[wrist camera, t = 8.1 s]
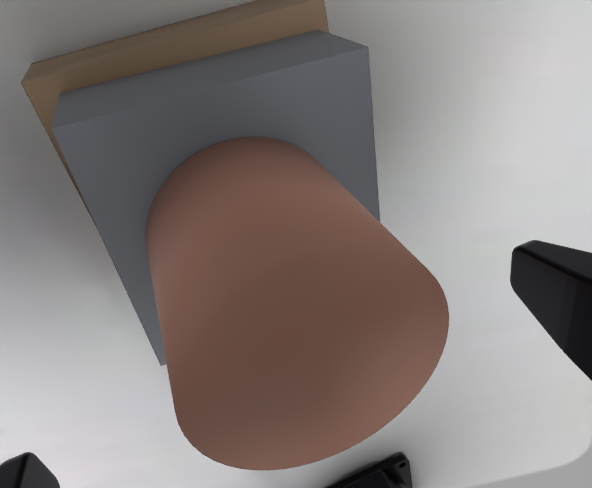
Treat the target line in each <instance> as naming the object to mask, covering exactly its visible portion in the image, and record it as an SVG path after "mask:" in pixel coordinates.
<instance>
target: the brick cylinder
mask: <svg viewBox="0 0 592 488" xmlns="http://www.w3.org/2000/svg"><path fill="white" fill-rule="evenodd" d="M145 238H146V249H147V255H148V260H149V266H150V272H151V277H152V283H153V289H154V295H155V300H156V306H157V312H158V317H159V323H160V329H161V334H162V340H163V346H164V351H165V357H166V363H167V369H168V374H169V380H170V386H171V391H172V397H173V403H174V408H175V413H176V417H177V420H178V424H179V426H180V428H181V430H182V432H183V434H184V436H185V437H186V438H187V439H188V441H189V442H190V443H191V444H192V446H194V447H195V448H196V449H197V450H198V451H200V452H201V453H202V454H203V455H205V456H207V457H209V458H210V459H212V460H214V461H216V462H219V463H222V464H224V465H227V466H231V467H236V468H240V469H249V470H277V469H286V468H292V467H297V466H302V465H306V464H309V463H313V462H316V461H319V460H322V459H325V458H328V457H330V456H333V455H335V454H337V453H340V452H342V451H344V450H346V449H348V448H350V447H352V446H354V445H356V444H358V443H360V442H361V441H363V440H364V439H366V438H368V437H369V436H371V435H372V434H374V433H375V432H377V431H378V430H380V429H381V428H382V427H384V426H385V425H386V424H388V423H389V422H390V421H391V420H392V419H394V418H395V417H396V416H397V415H398V414H399V413H400V412H401V411H402V410H403V409H404V408H405V407H406V406H407V405H408V404H409V403H410V402H411V401H412V400H413V399H414V398H415V397H416V395H417V394H418V393H419V392H420V391H421V389H422V388H423V387H424V385H425V384H426V382H427V381H428V380H429V378H430V376H431V375H432V373H433V371H434V369H435V368H436V366H437V364H438V362H439V359H440V357H441V355H442V352H443V349H444V346H445V343H446V339H447V333H448V327H449V312H448V305H447V301H446V298H445V295H444V292H443V290H442V288H441V286H440V284H439V283H438V281H437V279H436V278H435V277H434V276H433V275H432V274H431V273H430V271H429V270H428V269H427V268H426V267H425V266H424V265H423V264H422V263H421V262H420V261H419V260H418V259H417V258H416V257H415V256H413V255H412V254H411V253H410V252H409V251H408V250H407V249H406V248H405V247H404V246H403V245H402V244H401V243H400V242H399V241H398V240H397V239H396V238H395V237H394V236H393V235H392V234H391V233H390V232H389V231H388V230H387V229H386V228H385V227H384V226H383V225H382V224H381V223H380V222H379V221H378V220H377V219H376V218H375V217H374V216H373V215H372V214H371V213H370V212H369V211H368V210H367V209H366V208H365V207H364V206H363V205H362V204H361V203H360V202H359V201H358V200H357V199H356V198H355V197H354V196H353V195H352V194H351V193H350V192H348V191H347V190H346V189H345V188H344V187H343V186H342V185H341V184H340V183H339V182H338V181H337V180H336V179H335V178H334V177H333V176H332V175H331V174H330V173H329V172H328V171H327V170H326V169H325V168H324V167H323V166H322V165H321V164H320V163H319V162H318V161H317V160H316V159H315V158H314V157H312V156H311V155H310V154H309V153H307V152H306V151H304V150H303V149H301V148H299V147H297V146H296V145H293V144H291V143H288V142H286V141H282V140H278V139H274V138H267V137H242V138H236V139H230V140H227V141H223V142H220V143H216V144H214V145H212V146H210V147H207V148H205V149H203V150H201V151H199V152H198V153H196V154H194V155H193V156H191V157H190V158H188V159H187V160H186V161H185V162H183V163H182V164H181V165H179V166H178V167H177V168H176V169H175V170H174V171H173V172H172V173H171V174H170V175H169V177H168V178H167V179H166V181H165V182H164V183H163V184H162V186H161V187H160V189H159V191H158V192H157V194H156V196H155V198H154V200H153V202H152V205H151V207H150V210H149V214H148V218H147V222H146V233H145Z"/></svg>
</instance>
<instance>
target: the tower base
mask: <svg viewBox="0 0 592 488" xmlns="http://www.w3.org/2000/svg"><path fill="white" fill-rule="evenodd" d="M315 30H321V31H324V32H327V33H329V30H328V24H327V17H326V10H325V4H324V0H256V1H253V2H249V3H246V4H242V5H239V6H235V7H231V8H228V9H224V10H221V11H217V12H213V13H210V14H206V15H203V16H199V17H196V18H192V19H188V20H185V21H181V22H178V23H174V24H171V25H167V26H163V27H160V28H156V29H153V30H149V31H146V32H142V33H138V34H135V35H131V36H128V37H124V38H121V39H117V40H113V41H110V42H106V43H103V44H99V45H96V46H92V47H88V48H85V49H81V50H78V51H74V52H70V53H67V54H63V55H60V56H56V57H53V58H49V59H45V60H42V61H38V62H35V63H32V64H31V66H30V68H29V70H28V71H27V73H26V75H25V77H24V79H23V80H22V82H21V84H22V86H23V88H24V90H25V92H26V94H27V96H28V98H29V99H30V101H31V103H32V105H33V107H34V109H35V111H36V113H37V115H38V117H39V119H40V120H41V122H42V124H43V126H44V128H45V130H46V132H47V134H48V136H49V138H50V140H51V141H52V143H53V145H54V147H55V149H56V151H57V153H58V155H59V157H60V159H61V160H62V162H63V164H64V166H65V168H66V170H67V172H68V174H69V176H70V178H71V180H72V181H73V183H74V185H75V187H76V189H77V191H78V193H79V195H80V197H81V199H82V200H83V202H84V204H85V206H86V208H87V210H88V212H89V209H88V207H87V205H86V203H85V201H84V199H83V196H82V194H81V192H80V190H79V188H78V186H77V184H76V181H75V179H74V177H73V175H72V173H71V171H70V168H69V166H68V164H67V162H66V160H65V158H64V155H63V153H62V151H61V149H60V147H59V145H58V143H57V140H56V138H55V136H54V134H53V132H52V130H51V128H52V124H53V119H54V115H55V111H56V107H57V103H58V98H59V94H60V93H62V92H66V91H70V90H74V89H78V88H82V87H86V86H91V85H95V84H99V83H103V82H107V81H111V80H115V79H119V78H123V77H127V76H131V75H135V74H140V73H144V72H148V71H152V70H156V69H160V68H164V67H168V66H172V65H176V64H180V63H184V62H188V61H193V60H197V59H201V58H205V57H209V56H213V55H217V54H221V53H225V52H229V51H233V50H237V49H242V48H246V47H250V46H254V45H258V44H262V43H266V42H270V41H274V40H278V39H282V38H286V37H290V36H295V35H299V34H303V33H307V32H311V31H315ZM89 214H90V212H89ZM90 216H91V214H90ZM91 218H92V216H91ZM92 220H93V218H92ZM93 221H94V220H93ZM94 223H95V222H94Z"/></svg>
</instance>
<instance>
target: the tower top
mask: <svg viewBox="0 0 592 488" xmlns="http://www.w3.org/2000/svg"><path fill="white" fill-rule="evenodd" d="M51 130H52V132H53V134H54V136H55V138H56V140H57V143H58V145H59V147H60V149H61V151H62V153H63V155H64V158H65V160H66V162H67V164H68V166H69V168H70V171H71V173H72V175H73V177H74V179H75V181H76V184H77V186H78V188H79V190H80V192H81V194H82V196H83V199H84V201H85V203H86V205H87V207H88V209H89V212H90V214H91V216H92V218H93V220H94V222H95V225H96V227H97V229H98V231H99V233H100V235H101V237H102V240H103V242H104V244H105V246H106V248H107V250H108V253H109V255H110V257H111V259H112V261H113V263H114V266H115V268H116V270H117V272H118V274H119V276H120V278H121V281H122V283H123V285H124V287H125V289H126V291H127V294H128V296H129V298H130V300H131V302H132V304H133V307H134V309H135V311H136V313H137V315H138V317H139V319H140V322H141V324H142V326H143V328H144V330H145V332H146V335H147V337H148V339H149V341H150V343H151V345H152V348H153V350H154V352H155V354H156V356H157V358H158V360H159V363H160V365H161V366H162V365H165V364H167V363H166V357H165V351H164V346H163V340H162V334H161V329H160V323H159V317H158V312H157V306H156V300H155V295H154V289H153V283H152V277H151V272H150V266H149V260H148V255H147V249H146V238H145V233H146V222H147V218H148V214H149V210H150V207H151V205H152V202H153V200H154V198H155V196H156V194H157V192H158V191H159V189H160V187H161V186H162V184H163V183H164V182H165V181H166V179H167V178H168V177H169V175H170V174H171V173H172V172H173V171H174V170H175V169H176V168H177V167H178V166H179V165H181V164H182V163H183V162H185V161H186V160H187V159H188V158H190V157H191V156H193V155H194V154H196V153H198V152H199V151H201V150H203V149H205V148H207V147H210V146H212V145H214V144H216V143H220V142H223V141H227V140H230V139H236V138H242V137H267V138H274V139H278V140H282V141H286V142H288V143H291V144H293V145H296V146H297V147H299V148H301V149H303V150H304V151H306V152H307V153H309V154H310V155H311V156H312V157H314V158H315V159H316V160H317V161H318V162H319V163H320V164H321V165H322V166H323V167H324V168H325V169H326V170H327V171H328V172H329V173H330V174H331V175H332V176H333V177H334V178H335V179H336V180H337V181H338V182H339V183H340V184H341V185H342V186H343V187H344V188H345V189H346V190H347V191H348V192H350V193H351V194H352V195H353V196H354V197H355V198H356V199H357V200H358V201H359V202H360V203H361V204H362V205H363V206H364V207H365V208H366V209H367V210H368V211H369V212H370V213H371V214H372V215H373V216H374V217H375V218H376V219H377V220H378V221H379V222H380V214H379V200H378V185H377V171H376V156H375V141H374V127H373V112H372V97H371V83H370V68H369V54H368V47H366V46H364V45H361V44H358V43H355V42H352V41H349V40H347V39H344V38H341V37H338V36H335V35H332V34H330V33H327V32H324V31H321V30H315V31H311V32H307V33H303V34H299V35H295V36H290V37H286V38H282V39H278V40H274V41H270V42H266V43H262V44H258V45H254V46H250V47H246V48H242V49H237V50H233V51H229V52H225V53H221V54H217V55H213V56H209V57H205V58H201V59H197V60H193V61H188V62H184V63H180V64H176V65H172V66H168V67H164V68H160V69H156V70H152V71H148V72H144V73H140V74H135V75H131V76H127V77H123V78H119V79H115V80H111V81H107V82H103V83H99V84H95V85H91V86H86V87H82V88H78V89H74V90H70V91H66V92H62V93H60V94H59V98H58V103H57V107H56V111H55V115H54V119H53V124H52V128H51Z"/></svg>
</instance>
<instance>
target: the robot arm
mask: <svg viewBox="0 0 592 488" xmlns="http://www.w3.org/2000/svg"><path fill="white" fill-rule="evenodd" d="M510 282H511V286H512V288H513V290H514V292H515V293H516V294H517V295H518V297H519V298H520V299H521V300H522V302H523V303H524V304H525V305H526V307H527V308H528V309H529V310H530V312H531V313H532V314H533V315H534V316H535V318H536V319H537V320H538V321H539V323H540V324H541V325H542V326H543V328H544V329H545V330H546V331H547V332H548V334H549V335H550V336H551V337H552V339H553V340H554V341H555V342H556V344H557V345H558V346H559V347H560V348H561V349H562V350H563V352H564V353H565V354H566V355H567V356H568V357H569V358H570V359H571V360H572V361H573V362H574V363H575V364H576V365H577V366H578V367H579V368H580V369H581V370H582V371H583V372H584V373H585V374H586V375H587V376H588V377H589V378H590V379H591V380H592V253H590V252H585V251H581V250H577V249H572V248H568V247H564V246H559V245H555V244H551V243H546V242H542V241H537V240H532V241H529V242H526V243H524V244H522V245H519V246H517V247H515V248H514V250H513V252H512V261H511V274H510ZM0 488H60V485H59V483H58V480H57V479H56V477H55V476H54V475H53V474H52V472H51V471H50V470H49V469H48V468H47V467H46V466H45V465H44V464H43V463H42V462H41V461H40V459H39V458H38V457H37V456H36V455H35V454H33V453H31V452H27V453H23V454H21V455H18V456H16V457H14V458H11V459H9V460H7V461H5V462H3V463H2V464H1V465H0ZM332 488H412V481H411V473H410V464H409V461H408V459H407V457H406V456H405V455H404V454H402V455H399V456H396V457H394V458H392V459H390V460H388V461H386V462H384V463H382V464H380V465H378V466H376V467H374V468H372V469H370V470H367V471H365V472H363V473H361V474H359V475H357V476H355V477H353V478H351V479H349V480H347V481H345V482H343V483H341V484H339V485H336V486H334V487H332Z"/></svg>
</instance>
